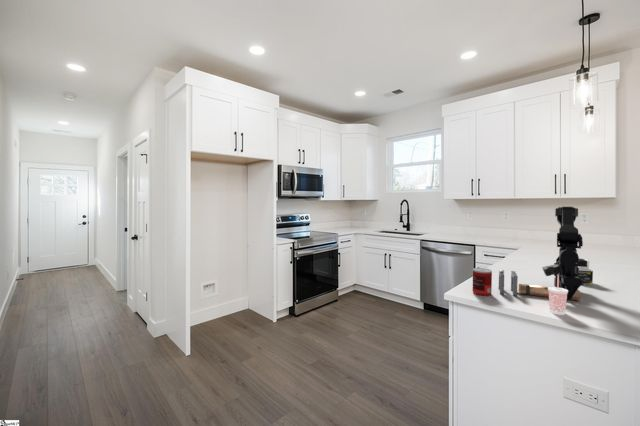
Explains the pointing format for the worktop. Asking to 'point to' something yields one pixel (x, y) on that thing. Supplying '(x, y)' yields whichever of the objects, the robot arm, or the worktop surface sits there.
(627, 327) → the worktop surface
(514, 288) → the collar
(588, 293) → the worktop surface
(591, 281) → the medicine bottle
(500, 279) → the collar
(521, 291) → the brown wooden rod
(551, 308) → the beverage cup
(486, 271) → the canned food
